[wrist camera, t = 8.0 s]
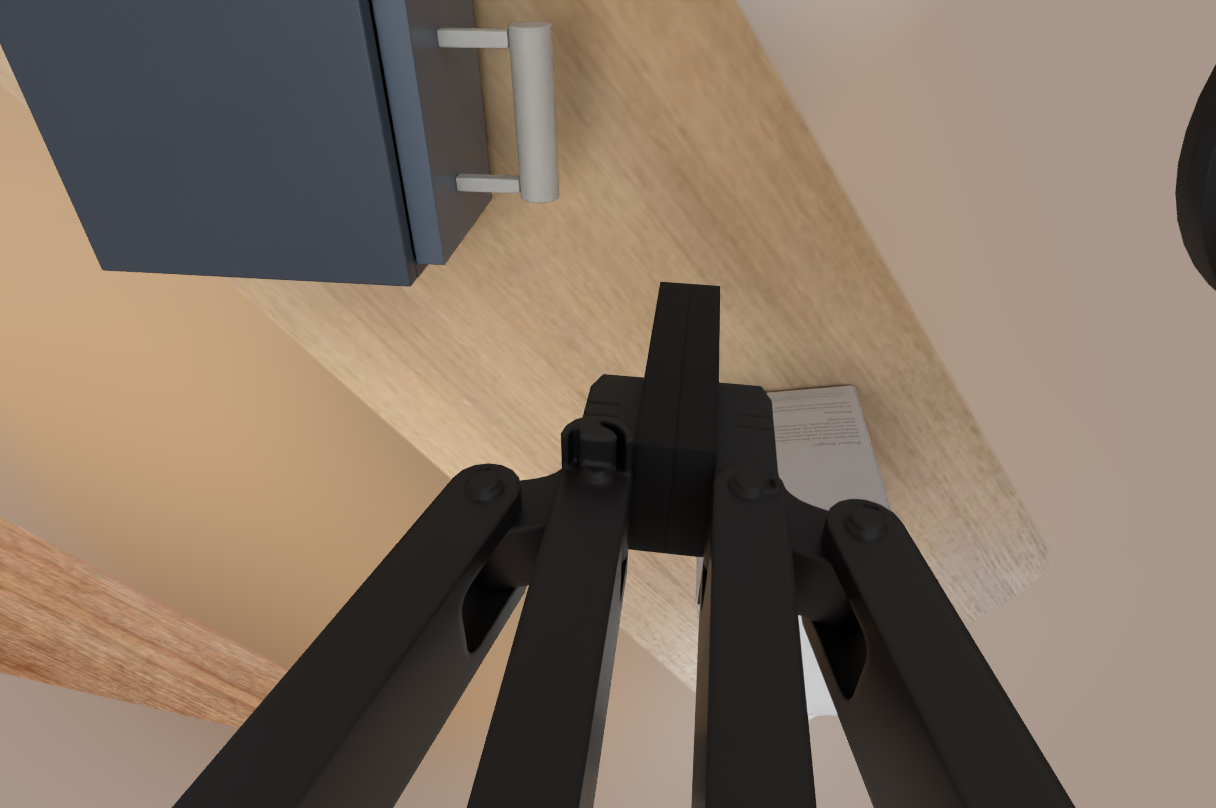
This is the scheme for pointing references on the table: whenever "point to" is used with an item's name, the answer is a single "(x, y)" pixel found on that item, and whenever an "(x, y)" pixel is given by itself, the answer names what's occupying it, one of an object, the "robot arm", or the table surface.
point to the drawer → (460, 115)
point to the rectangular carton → (822, 478)
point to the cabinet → (219, 134)
